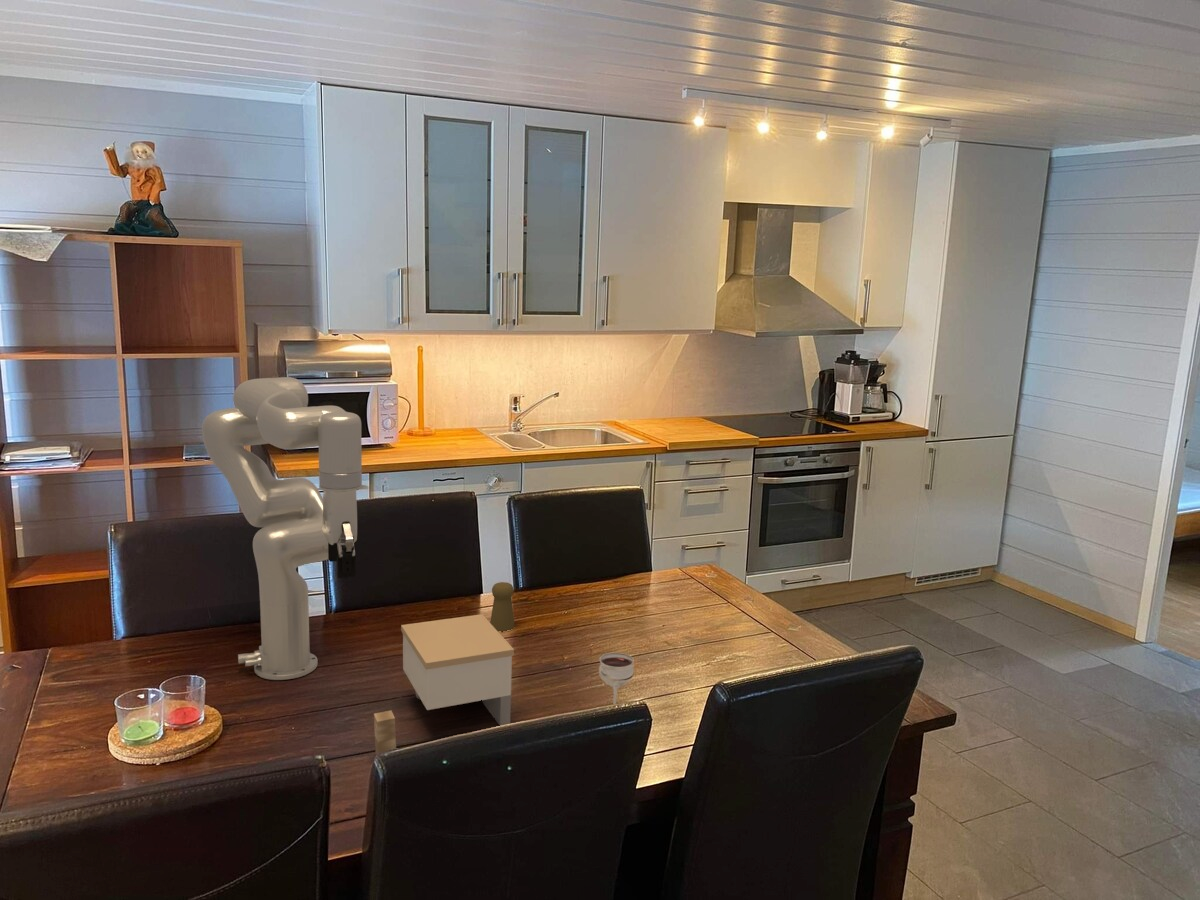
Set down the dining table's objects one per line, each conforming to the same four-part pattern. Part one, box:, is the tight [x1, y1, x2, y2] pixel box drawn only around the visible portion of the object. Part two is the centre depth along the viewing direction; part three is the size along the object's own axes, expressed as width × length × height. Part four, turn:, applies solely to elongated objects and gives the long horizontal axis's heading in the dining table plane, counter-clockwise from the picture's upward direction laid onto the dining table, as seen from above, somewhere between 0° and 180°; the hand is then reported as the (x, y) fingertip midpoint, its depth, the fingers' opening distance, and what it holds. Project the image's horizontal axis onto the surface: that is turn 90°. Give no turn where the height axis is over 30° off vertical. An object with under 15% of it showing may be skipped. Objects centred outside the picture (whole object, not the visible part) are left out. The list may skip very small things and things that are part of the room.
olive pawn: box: [489, 581, 516, 631], centre depth 210 cm, size 6×6×11 cm
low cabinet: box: [400, 613, 515, 726], centre depth 168 cm, size 17×19×15 cm
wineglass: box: [598, 652, 635, 705], centre depth 168 cm, size 7×7×12 cm
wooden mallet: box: [373, 709, 397, 756], centre depth 155 cm, size 18×3×8 cm, turn 115°
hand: (341, 568), depth 164 cm, fingers open, 9 cm apart
